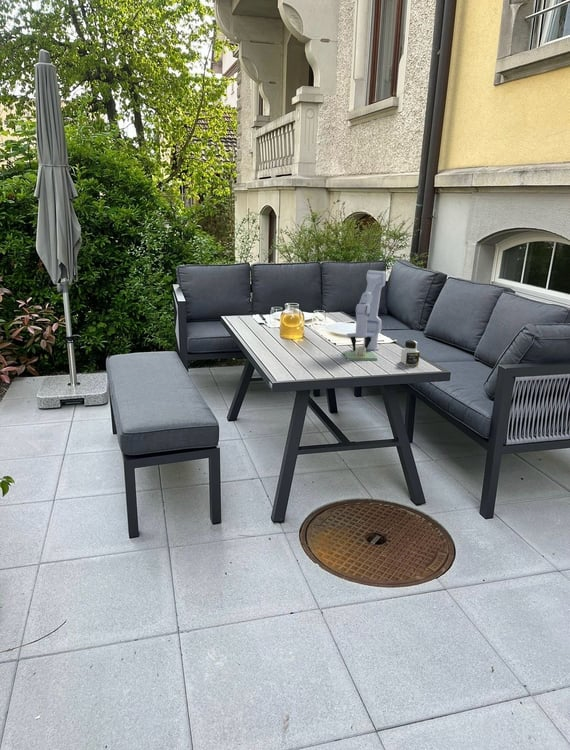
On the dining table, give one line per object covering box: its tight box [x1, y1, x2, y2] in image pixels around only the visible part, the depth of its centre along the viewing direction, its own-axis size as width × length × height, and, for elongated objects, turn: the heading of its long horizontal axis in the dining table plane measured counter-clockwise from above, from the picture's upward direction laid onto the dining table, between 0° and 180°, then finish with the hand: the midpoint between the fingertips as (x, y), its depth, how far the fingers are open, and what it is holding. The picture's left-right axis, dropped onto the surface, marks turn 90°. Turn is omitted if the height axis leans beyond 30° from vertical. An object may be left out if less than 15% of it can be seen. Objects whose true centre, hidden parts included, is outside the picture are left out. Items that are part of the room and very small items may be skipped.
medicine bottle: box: [400, 339, 421, 366], centre depth 295 cm, size 7×7×12 cm
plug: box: [353, 345, 367, 355], centre depth 305 cm, size 5×6×4 cm
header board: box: [342, 350, 378, 361], centre depth 304 cm, size 12×16×4 cm
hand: (359, 350), depth 306 cm, fingers closed on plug, 5 cm apart
